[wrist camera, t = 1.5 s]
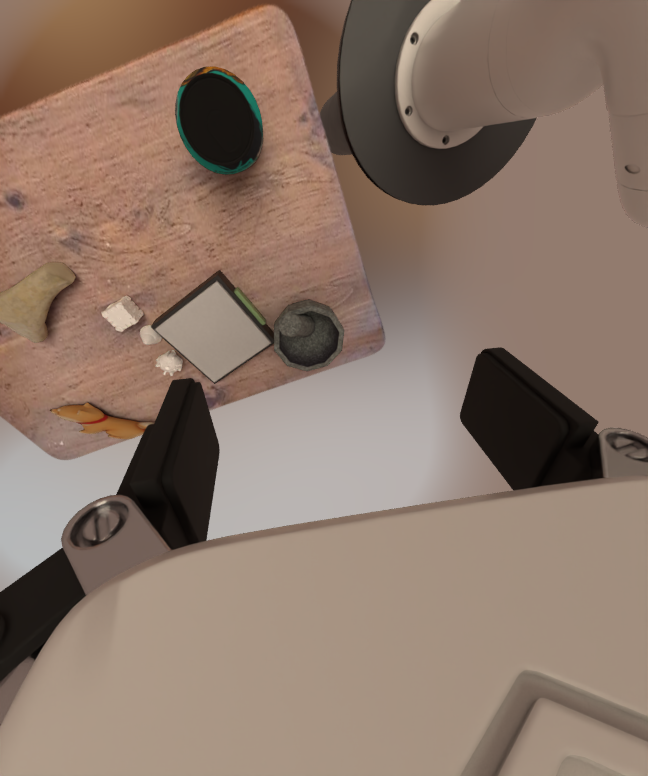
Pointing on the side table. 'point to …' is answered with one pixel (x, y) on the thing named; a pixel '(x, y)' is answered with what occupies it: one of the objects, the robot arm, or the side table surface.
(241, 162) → the beverage can
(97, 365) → the side table surface
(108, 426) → the toy
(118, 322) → the game pieces
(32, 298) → the tan bone
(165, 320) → the scale
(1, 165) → the side table surface
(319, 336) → the mortar and pestle
